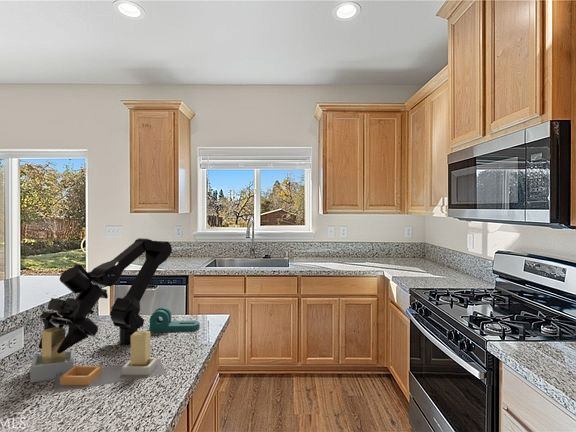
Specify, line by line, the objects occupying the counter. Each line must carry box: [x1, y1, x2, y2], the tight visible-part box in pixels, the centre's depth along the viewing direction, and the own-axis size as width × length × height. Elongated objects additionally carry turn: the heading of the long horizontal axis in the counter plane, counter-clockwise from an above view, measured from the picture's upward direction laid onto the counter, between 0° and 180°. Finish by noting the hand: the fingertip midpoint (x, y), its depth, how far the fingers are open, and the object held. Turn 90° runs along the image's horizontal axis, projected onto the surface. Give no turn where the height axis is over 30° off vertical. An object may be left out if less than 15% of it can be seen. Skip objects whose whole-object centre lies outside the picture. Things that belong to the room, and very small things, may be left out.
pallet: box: [52, 357, 167, 394], centre depth 108 cm, size 12×26×4 cm, turn 117°
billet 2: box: [130, 330, 151, 366], centre depth 111 cm, size 4×4×10 cm
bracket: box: [149, 306, 201, 333], centre depth 155 cm, size 18×7×8 cm, turn 97°
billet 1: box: [41, 327, 66, 365], centre depth 112 cm, size 4×4×10 cm
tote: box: [29, 349, 75, 384], centre depth 112 cm, size 10×10×4 cm
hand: (48, 350), depth 111 cm, fingers open, 8 cm apart
